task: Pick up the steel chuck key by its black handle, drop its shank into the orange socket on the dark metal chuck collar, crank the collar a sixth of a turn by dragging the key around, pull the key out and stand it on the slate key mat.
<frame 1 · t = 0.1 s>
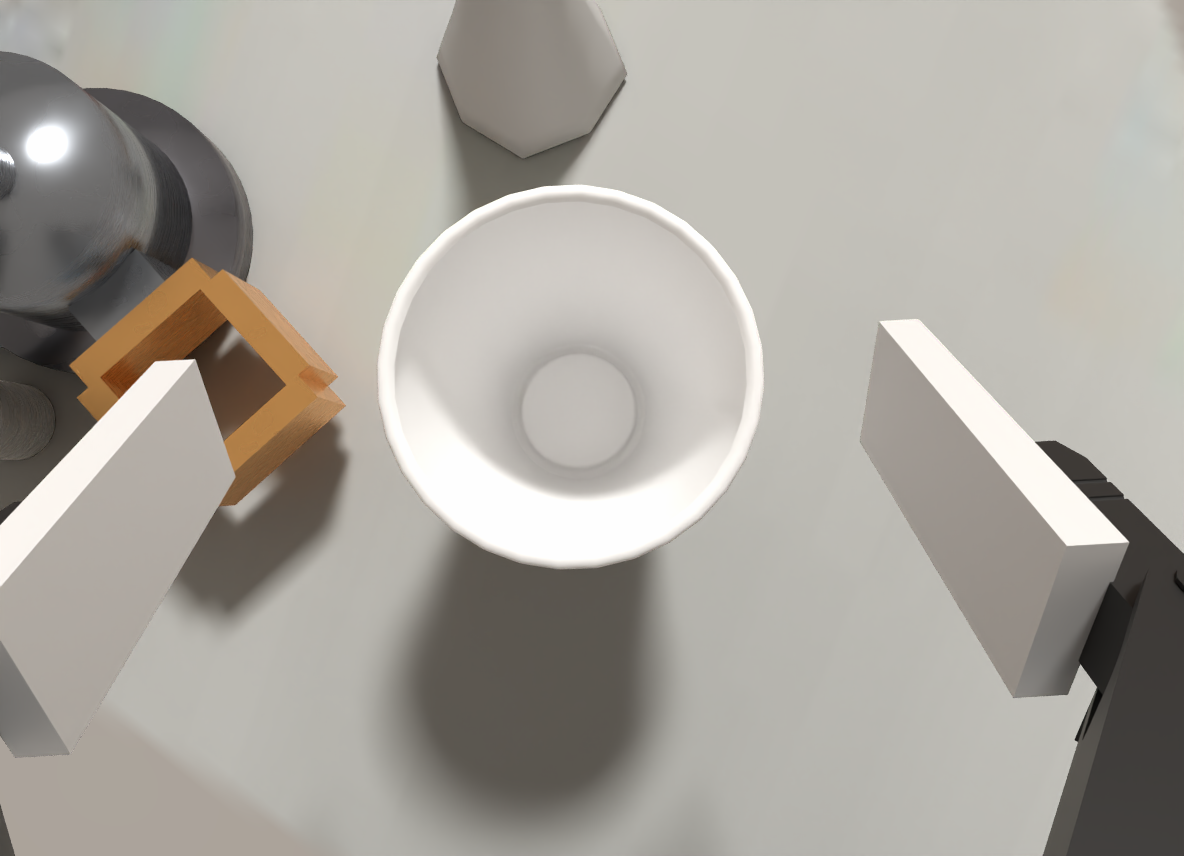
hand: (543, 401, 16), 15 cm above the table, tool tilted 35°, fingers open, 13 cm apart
cup: (578, 412, 31), on the table
flask: (532, 71, 32), on the table
dark grey disc: (114, 240, 32), on the table
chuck: (60, 262, 25), point 7 cm above the table, hinge at 0.0°
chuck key: (17, 421, 31), on the table
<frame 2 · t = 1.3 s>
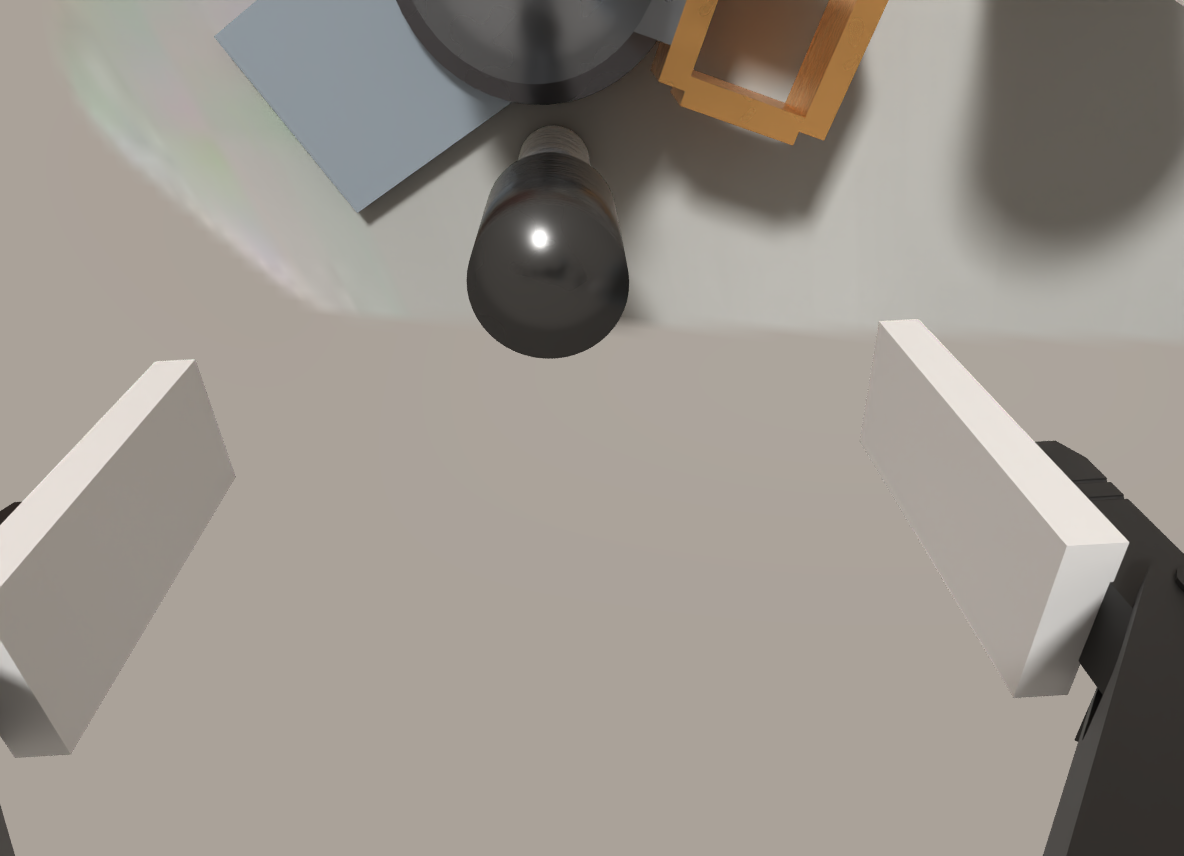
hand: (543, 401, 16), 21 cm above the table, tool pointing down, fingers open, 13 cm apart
key mat: (370, 67, 31), on the table
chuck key: (554, 162, 34), on the table
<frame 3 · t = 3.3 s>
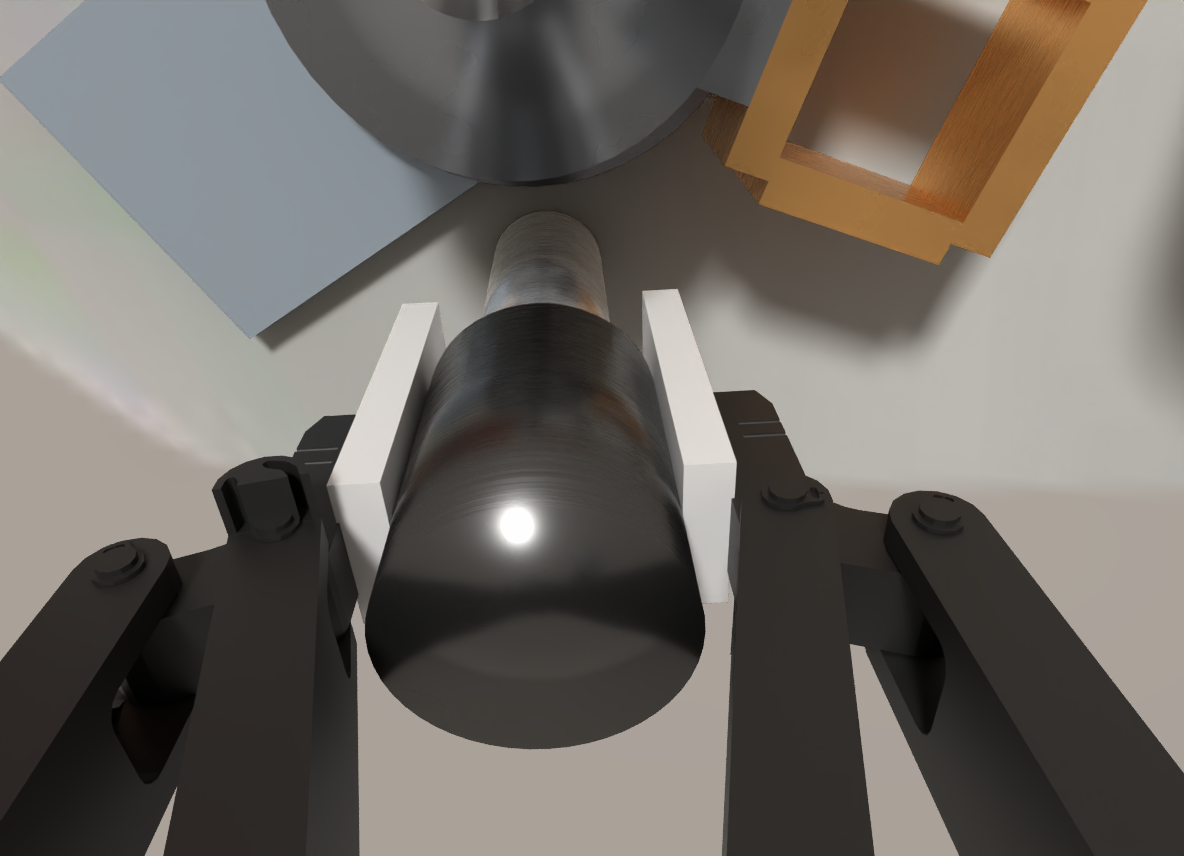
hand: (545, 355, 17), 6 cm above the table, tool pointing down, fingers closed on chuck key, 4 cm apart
key mat: (259, 125, 20), on the table
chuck: (732, 7, 13), point 7 cm above the table, hinge at 0.0°
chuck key: (547, 264, 22), on the table, touching gripper
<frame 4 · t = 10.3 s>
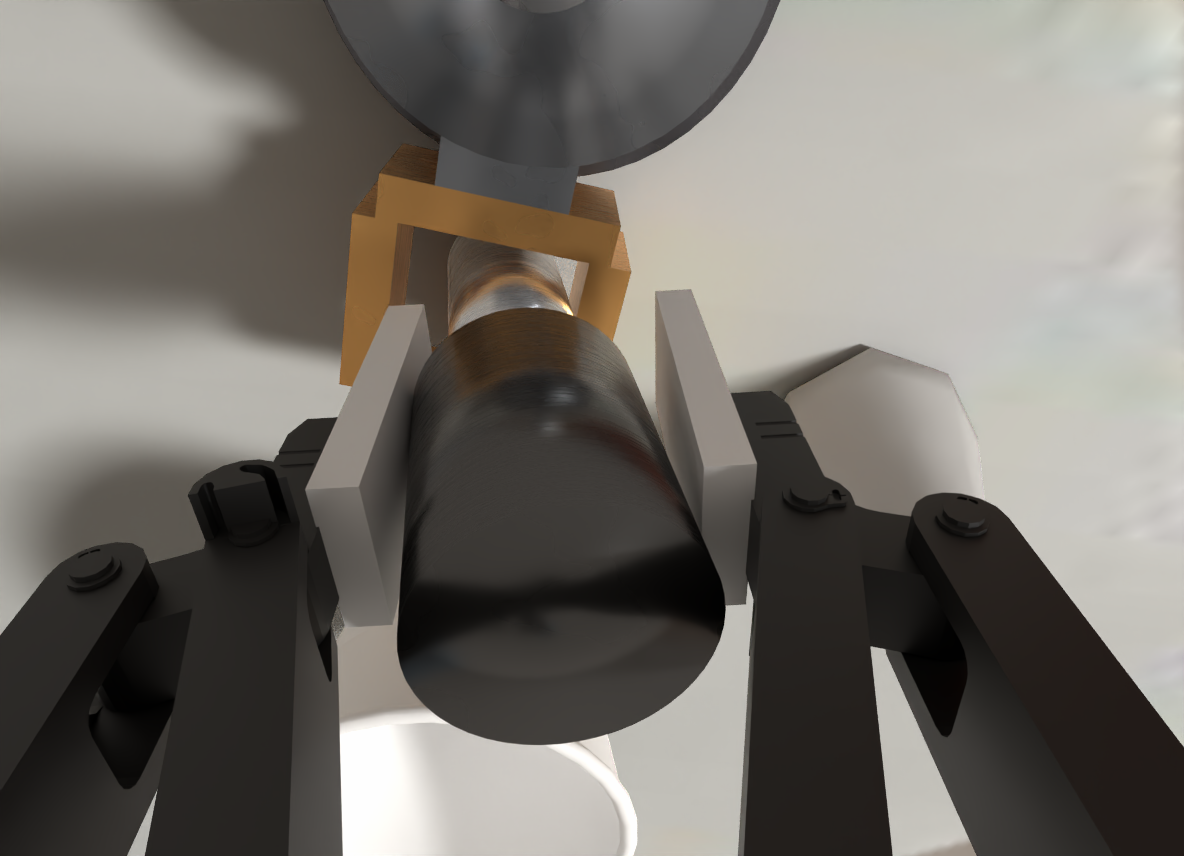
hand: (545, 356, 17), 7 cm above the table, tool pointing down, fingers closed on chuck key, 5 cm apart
cup: (479, 551, 29), on the table
flask: (858, 441, 27), on the table
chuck: (508, 156, 15), point 7 cm above the table, hinge at 23.4°, touching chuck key
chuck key: (501, 268, 22), point 1 cm above the table, tilted 7°, touching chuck, gripper
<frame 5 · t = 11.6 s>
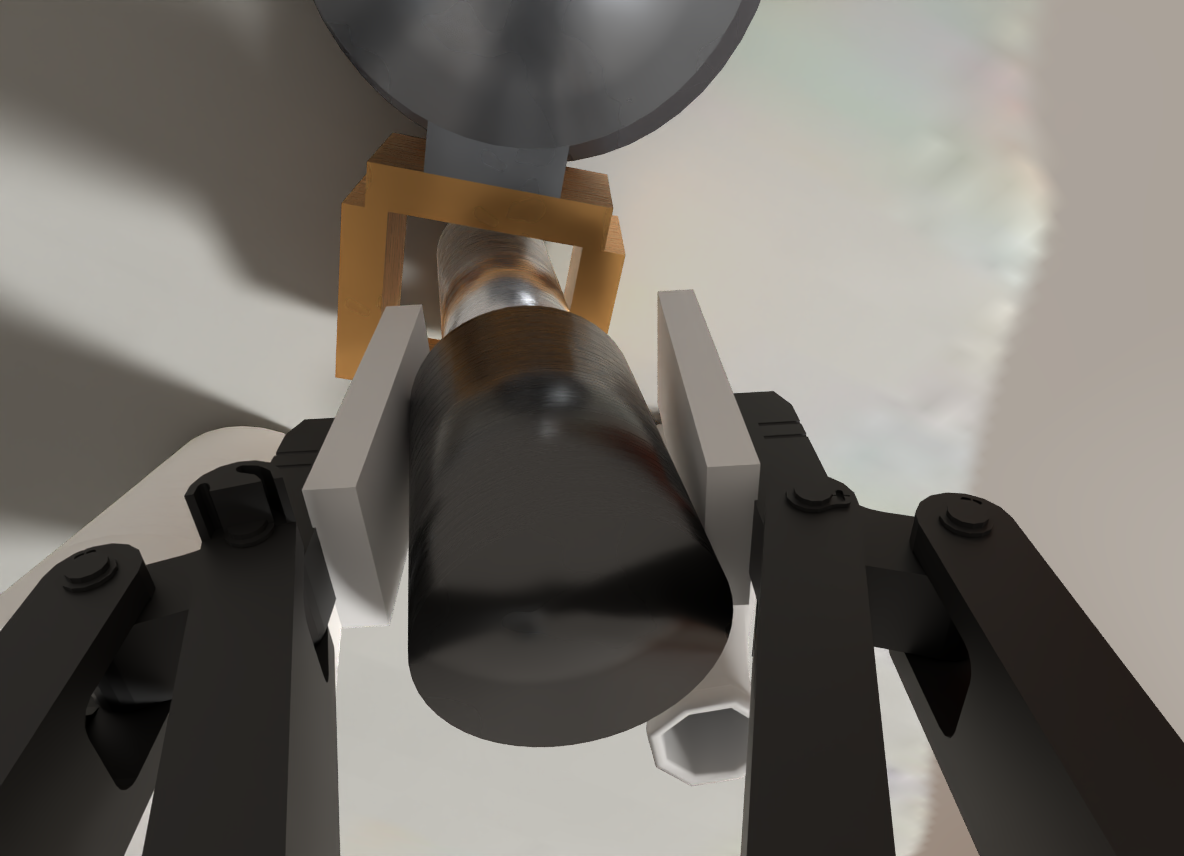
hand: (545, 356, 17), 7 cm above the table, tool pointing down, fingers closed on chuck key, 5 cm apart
cup: (266, 492, 28), on the table
flask: (668, 498, 28), on the table
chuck: (494, 138, 15), point 7 cm above the table, hinge at 46.3°, touching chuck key
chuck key: (491, 257, 22), point 1 cm above the table, tilted 9°, touching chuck, gripper
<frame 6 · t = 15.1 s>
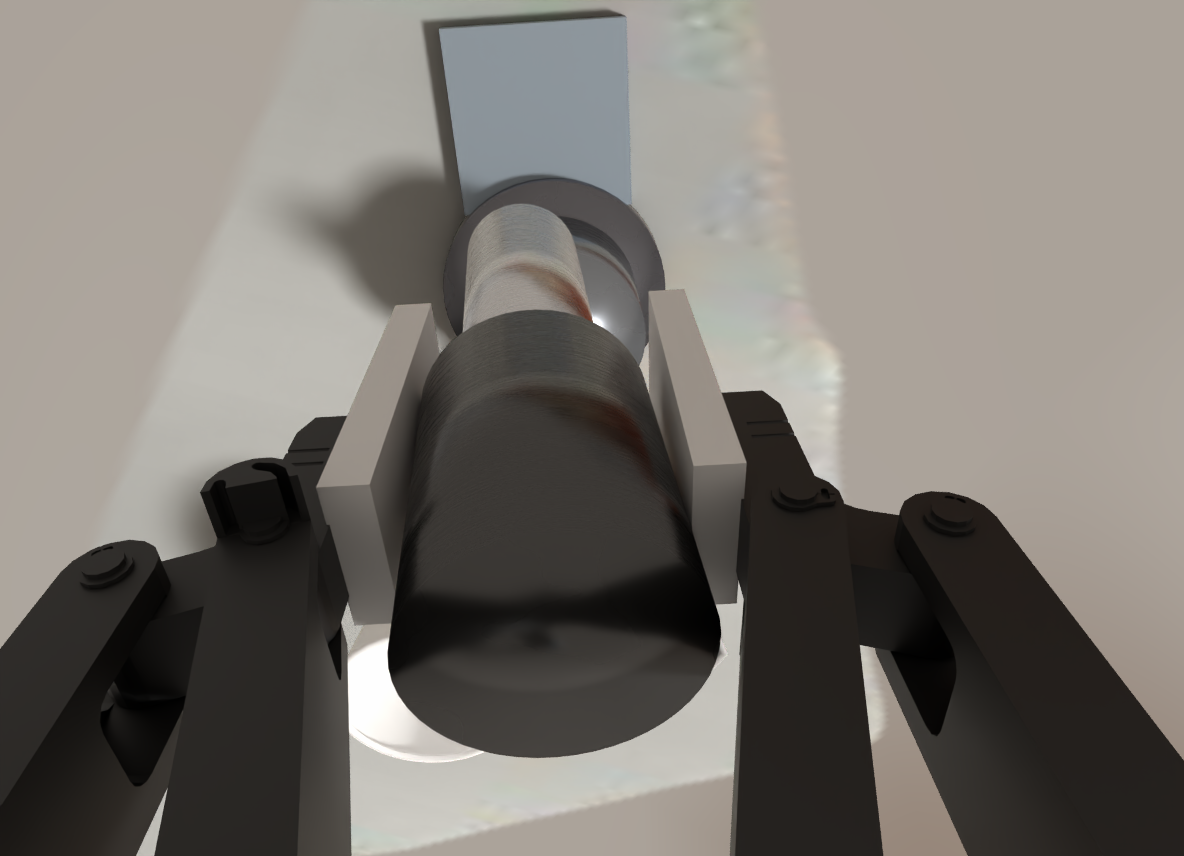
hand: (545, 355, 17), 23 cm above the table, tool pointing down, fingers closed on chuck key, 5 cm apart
cup: (451, 558, 50), on the table
key mat: (541, 118, 37), on the table
dark grey disc: (554, 282, 41), on the table
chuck: (559, 415, 37), point 7 cm above the table, hinge at 49.8°
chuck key: (522, 256, 22), point 17 cm above the table, touching gripper
when the fingers open (7 cm above the table, at t = 18.3 s): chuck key stays where it is, resting on key mat.
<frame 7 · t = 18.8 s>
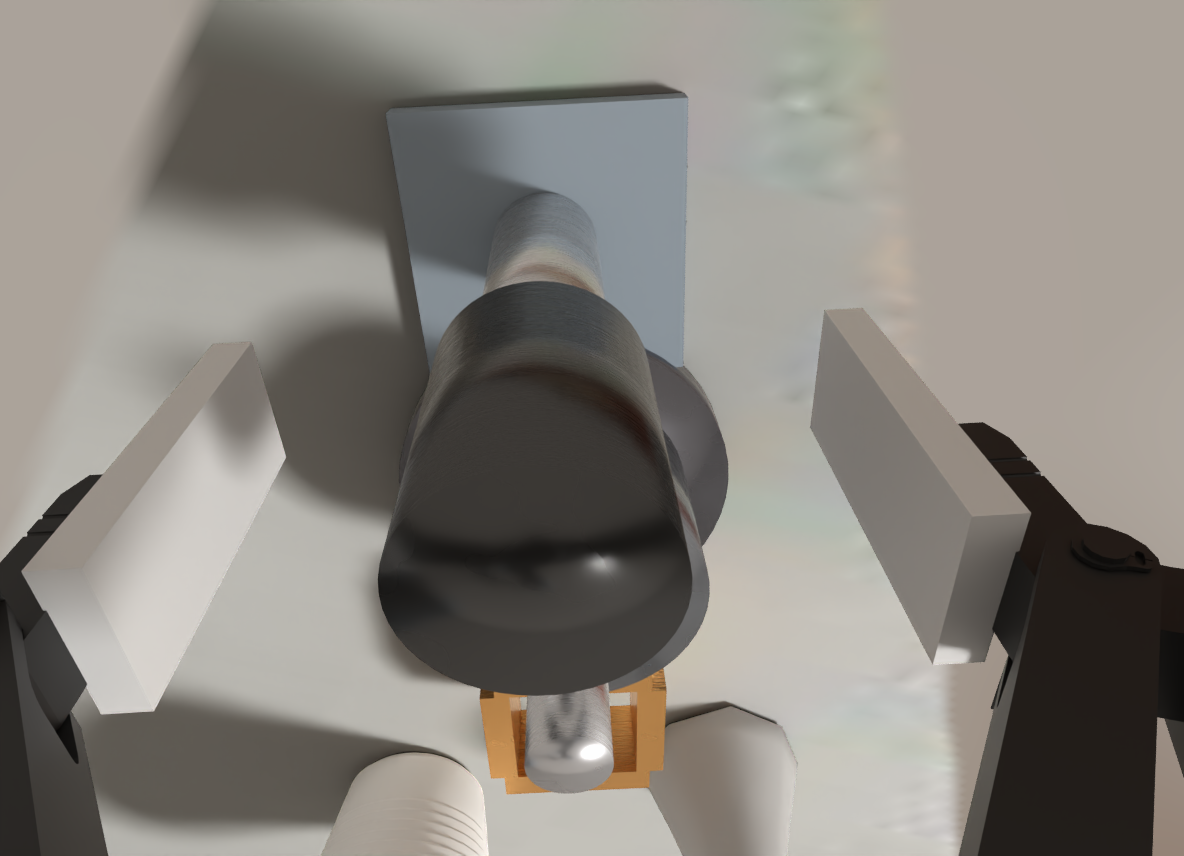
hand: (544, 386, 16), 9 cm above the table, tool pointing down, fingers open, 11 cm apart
cup: (419, 784, 38), on the table
key mat: (548, 243, 24), on the table
flask: (715, 752, 37), on the table
dark grey disc: (564, 463, 28), on the table
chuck: (571, 696, 24), point 7 cm above the table, hinge at 49.8°
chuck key: (545, 244, 23), point 1 cm above the table, touching key mat
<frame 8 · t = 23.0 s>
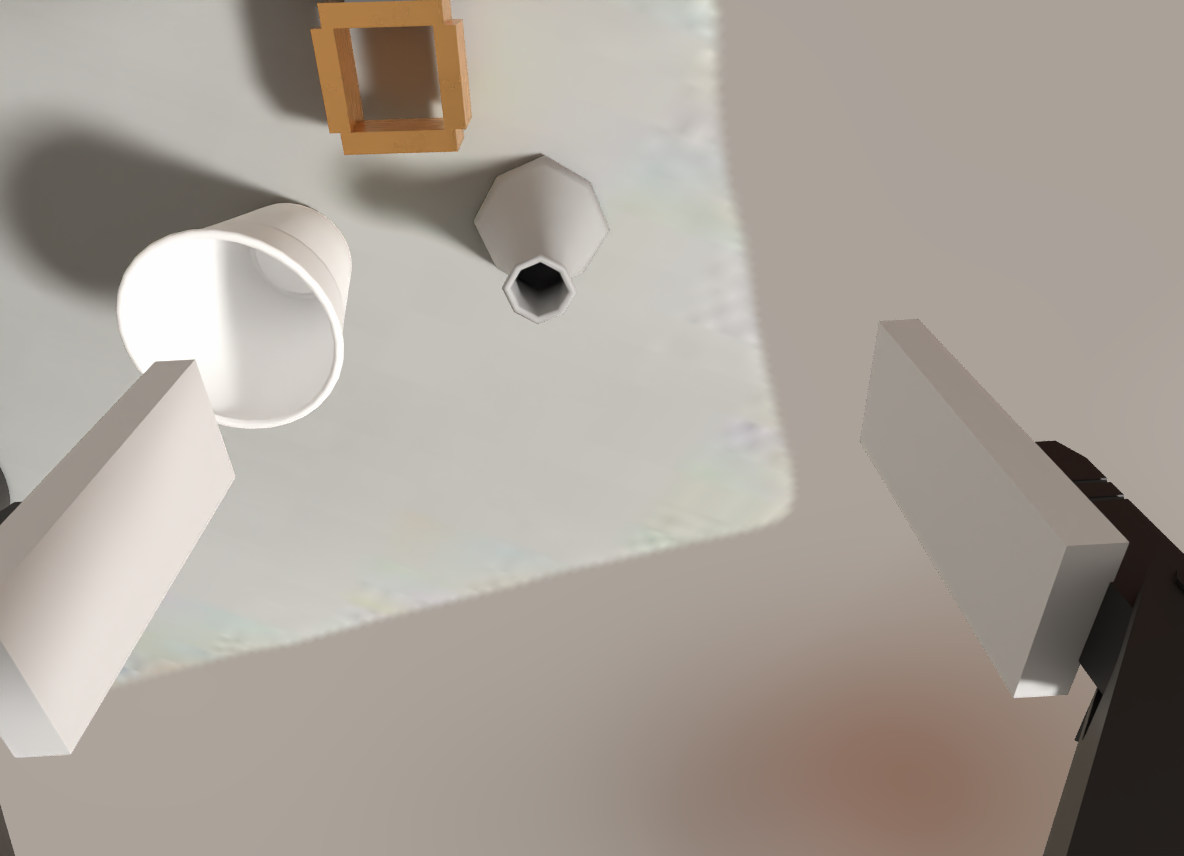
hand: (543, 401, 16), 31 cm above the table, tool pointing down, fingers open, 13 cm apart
cup: (299, 253, 46), on the table
flask: (541, 222, 45), on the table
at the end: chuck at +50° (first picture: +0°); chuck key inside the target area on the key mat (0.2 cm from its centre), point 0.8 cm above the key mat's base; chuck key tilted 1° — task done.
